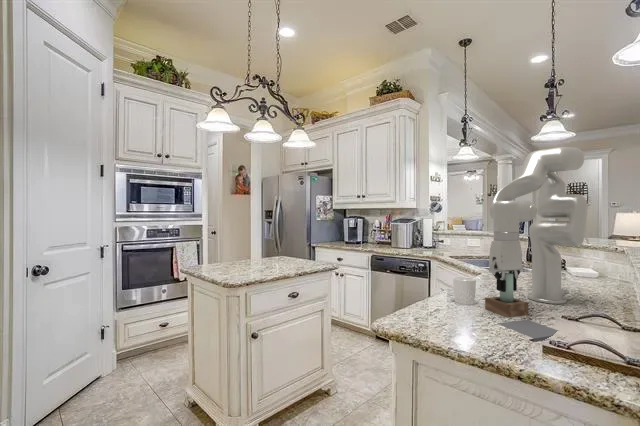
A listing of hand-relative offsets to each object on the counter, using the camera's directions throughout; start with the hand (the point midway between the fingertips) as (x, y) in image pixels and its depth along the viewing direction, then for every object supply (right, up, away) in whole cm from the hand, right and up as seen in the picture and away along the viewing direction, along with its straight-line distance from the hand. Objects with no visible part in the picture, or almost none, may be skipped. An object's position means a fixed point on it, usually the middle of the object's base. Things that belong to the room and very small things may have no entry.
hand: (506, 289), depth 107 cm
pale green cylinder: (0, -5, 0) cm, 5 cm away
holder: (0, -8, 0) cm, 8 cm away
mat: (-2, -8, -15) cm, 18 cm away
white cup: (-9, -9, +12) cm, 17 cm away
